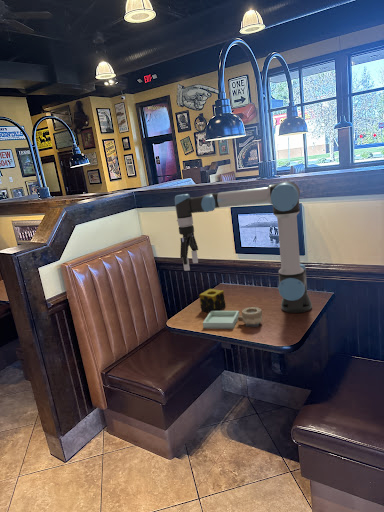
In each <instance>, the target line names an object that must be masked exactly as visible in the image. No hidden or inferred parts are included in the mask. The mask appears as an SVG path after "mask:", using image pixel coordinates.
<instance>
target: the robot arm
mask: <svg viewBox="0 0 384 512" xmlns="http://www.w3.org/2000/svg"><path fill="white" fill-rule="evenodd" d="M300 192H301V191H300V189H299V186H298V185H297V184H296V183H294V181H290V180H289V181H288V180H287V181H283V182H278V183H274V184H269V185H268V186H267V187H266V186H265V187H259V188H249V189H241V190H240V189H239V190H238V189H237V190H231V191H221V192H209V193H206V194H203V195H202V196H201V195H200V196H195V197H191V196H190V194H189V193H182V194H177V195H175V196H174V206H175V207H174V208H175V211H176V212H175V213H176V218H177V219H176V222H177V225H178V233H179V235H181V236H182V237H180V238H179V240H180V252H179V253H180V254H179V255H180V259H182V263H183V270H184V271H185V272H186V271H187V272H188V271H191V269H190V261H189V260H190V259H189V257H188V255H189V248H190V249H191V260H192V264H198V263H199V257H198V251H199V247H198V243H197V241H196V237H195V233H194V232H195V228H194V219H193V214H195V213H196V214H197V213H208V212H213V211H215V210H216V209H217V208H218V209H219V208H227V207H229V208H230V207H237V206H238V207H239V206H248V205H251V206H252V205H260V204H270V205H271V206H272V212H273V215H274V217H276V220H277V231H278V232H277V233H278V243H279V255H280V257H279V258H280V265H281V266H280V269H278V282H279V283H278V286H277V287H278V293H279V295H280V297H282V299H281V303H280V306H281V307H280V308H281V310H282V311H284V312H285V313H291V314H299V313H305V312H308V311H310V310H311V309H312V308H313V303H312V301H311V298H310V297H309V294H308V284H307V283H308V282H307V269H306V265H305V264H303V263H301V260H300V258H301V257H300V245H299V232H298V218H297V217H298V215H299V214H300V211H301V209H300V197H301V196H300V195H301V193H300Z"/></svg>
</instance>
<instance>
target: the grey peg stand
mask: <svg viewBox="0 0 384 512" xmlns="http://www.w3.org/2000/svg"><path fill="white" fill-rule="evenodd" d="M249 313H254V312H253V311H251V312H249ZM260 323H261V322H260ZM260 323H257V324H246V323H244V324H245V328H246V327H247V328H249V327H250V328H259V326H260Z"/></svg>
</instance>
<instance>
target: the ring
mask: <svg viewBox="0 0 384 512" xmlns="http://www.w3.org/2000/svg"><path fill="white" fill-rule="evenodd" d="M251 311H253V312H254V313H249V312H251ZM262 321H263V313H262V309H261V308H259V307H258V306H249V307H246V308H243V309H242V310H241V315H240V314H239V316H238V321H237V322H243V323H244V324H245V323H246V324H257V323H262Z"/></svg>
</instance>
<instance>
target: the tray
mask: <svg viewBox="0 0 384 512" xmlns="http://www.w3.org/2000/svg"><path fill="white" fill-rule="evenodd" d="M239 315H240V310H221V311H210V313H208V314H207V316H206V317H205V318H204V320H203V321H202V328H203V329H215V330H217V329H222V330H223V329H225V330H228V329H229V330H234V329H235V326H236V325H237V322H239V321H238V316H239Z"/></svg>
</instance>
